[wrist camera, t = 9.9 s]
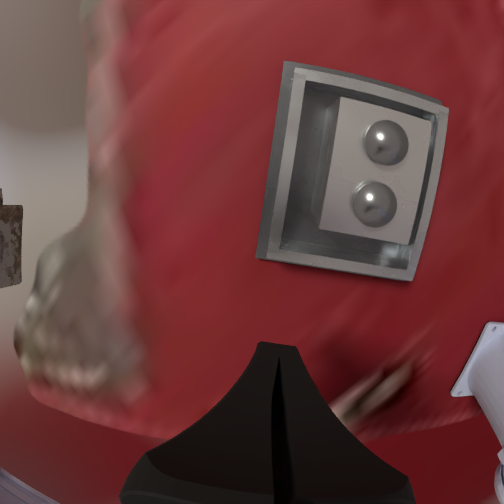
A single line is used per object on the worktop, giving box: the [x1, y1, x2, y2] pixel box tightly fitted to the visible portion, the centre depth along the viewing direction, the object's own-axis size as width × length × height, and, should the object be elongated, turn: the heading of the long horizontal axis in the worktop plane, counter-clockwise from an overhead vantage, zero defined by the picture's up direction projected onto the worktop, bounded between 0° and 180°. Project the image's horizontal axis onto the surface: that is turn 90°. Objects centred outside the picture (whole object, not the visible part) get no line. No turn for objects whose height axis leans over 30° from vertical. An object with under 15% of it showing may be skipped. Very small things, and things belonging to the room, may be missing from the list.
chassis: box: [255, 61, 449, 281], centre depth 17 cm, size 10×12×3 cm
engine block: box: [311, 97, 432, 245], centre depth 15 cm, size 4×6×5 cm
